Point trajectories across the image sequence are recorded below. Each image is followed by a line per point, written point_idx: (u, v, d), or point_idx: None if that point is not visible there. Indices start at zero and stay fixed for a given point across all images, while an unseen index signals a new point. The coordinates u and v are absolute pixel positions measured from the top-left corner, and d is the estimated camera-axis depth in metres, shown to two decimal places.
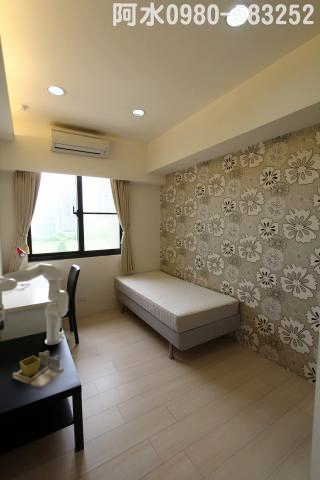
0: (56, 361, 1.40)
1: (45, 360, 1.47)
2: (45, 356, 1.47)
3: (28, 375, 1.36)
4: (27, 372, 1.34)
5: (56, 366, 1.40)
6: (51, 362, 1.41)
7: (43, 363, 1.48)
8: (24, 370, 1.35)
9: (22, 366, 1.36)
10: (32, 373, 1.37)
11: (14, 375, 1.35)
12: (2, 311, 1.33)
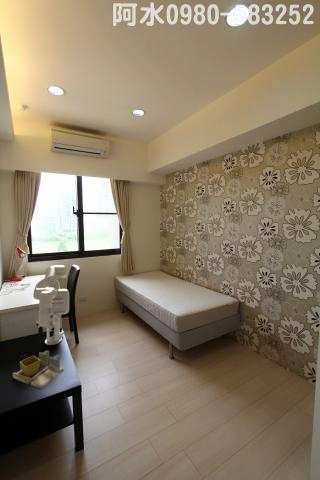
0: (56, 361, 1.40)
1: (45, 360, 1.47)
2: (45, 356, 1.47)
3: (28, 375, 1.36)
4: (27, 372, 1.34)
5: (56, 366, 1.40)
6: (51, 362, 1.41)
7: (43, 363, 1.48)
8: (24, 370, 1.35)
9: (22, 366, 1.36)
10: (32, 373, 1.37)
11: (14, 375, 1.35)
12: (53, 319, 1.45)
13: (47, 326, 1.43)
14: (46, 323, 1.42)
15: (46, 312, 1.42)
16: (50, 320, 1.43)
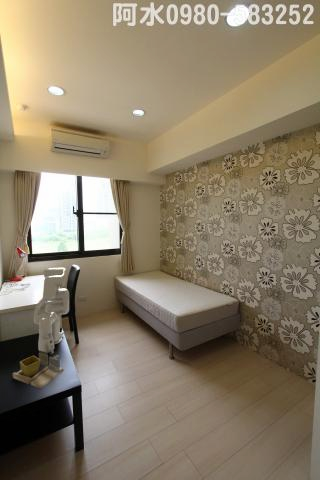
0: (56, 361, 1.40)
1: (45, 360, 1.47)
2: (45, 356, 1.47)
3: (28, 375, 1.36)
4: (27, 372, 1.34)
5: (56, 366, 1.40)
6: (51, 362, 1.41)
7: (43, 363, 1.48)
8: (24, 370, 1.35)
9: (22, 366, 1.36)
10: (32, 373, 1.37)
11: (14, 375, 1.35)
12: (52, 343, 1.49)
13: (47, 351, 1.47)
14: (46, 348, 1.47)
15: (46, 338, 1.46)
16: (50, 345, 1.47)
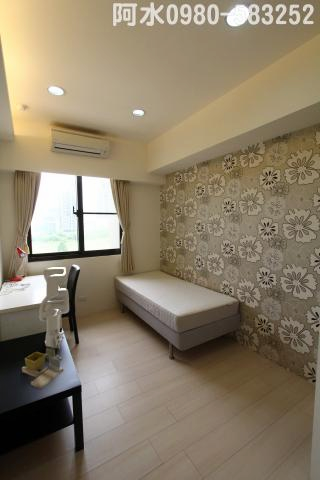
0: (56, 361, 1.40)
1: (52, 355, 1.53)
2: (52, 351, 1.53)
3: (35, 370, 1.40)
4: (35, 367, 1.39)
5: (56, 366, 1.40)
6: (51, 362, 1.41)
7: None
8: (31, 365, 1.39)
9: (28, 362, 1.40)
10: (38, 368, 1.43)
11: (23, 369, 1.41)
12: (59, 339, 1.55)
13: (54, 346, 1.53)
14: (53, 343, 1.53)
15: (53, 333, 1.52)
16: (57, 341, 1.53)
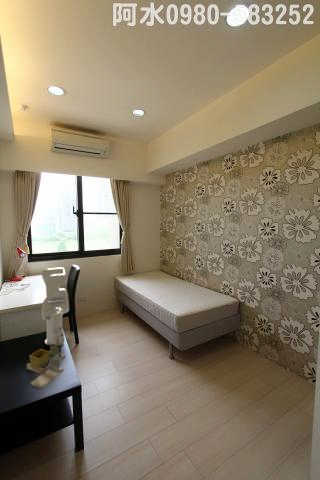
0: (56, 361, 1.40)
1: (56, 352, 1.56)
2: (56, 349, 1.56)
3: (40, 366, 1.44)
4: (39, 363, 1.43)
5: (56, 366, 1.40)
6: (51, 362, 1.41)
7: (54, 355, 1.57)
8: (36, 362, 1.43)
9: (33, 359, 1.43)
10: (43, 364, 1.46)
11: (28, 366, 1.44)
12: (63, 337, 1.58)
13: (58, 344, 1.56)
14: (57, 341, 1.56)
15: (57, 331, 1.55)
16: (60, 338, 1.56)
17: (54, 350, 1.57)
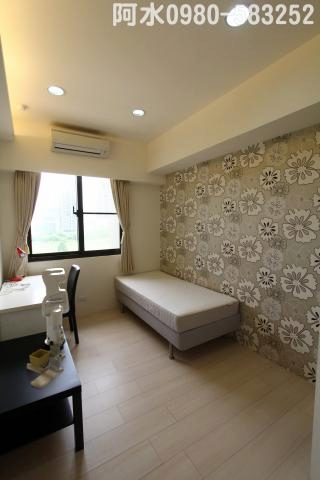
0: (56, 361, 1.40)
1: (56, 352, 1.56)
2: (56, 349, 1.56)
3: (40, 366, 1.44)
4: (39, 363, 1.43)
5: (56, 366, 1.40)
6: (51, 362, 1.41)
7: (54, 355, 1.57)
8: (36, 362, 1.43)
9: (33, 359, 1.43)
10: (43, 364, 1.46)
11: (28, 366, 1.44)
12: (62, 334, 1.59)
13: (58, 341, 1.57)
14: (57, 338, 1.56)
15: (57, 329, 1.56)
16: (60, 336, 1.57)
17: (54, 350, 1.57)
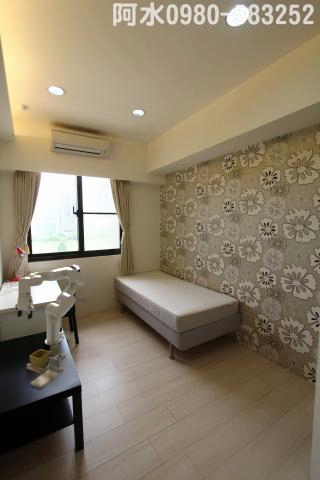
0: (56, 361, 1.40)
1: (56, 352, 1.56)
2: (56, 349, 1.56)
3: (40, 366, 1.44)
4: (39, 363, 1.43)
5: (56, 366, 1.40)
6: (51, 362, 1.41)
7: (54, 355, 1.57)
8: (36, 362, 1.43)
9: (33, 359, 1.43)
10: (43, 364, 1.46)
11: (28, 366, 1.44)
12: (31, 302, 1.57)
13: (26, 309, 1.54)
14: (25, 306, 1.54)
15: (25, 296, 1.54)
16: (28, 304, 1.55)
17: (54, 350, 1.57)
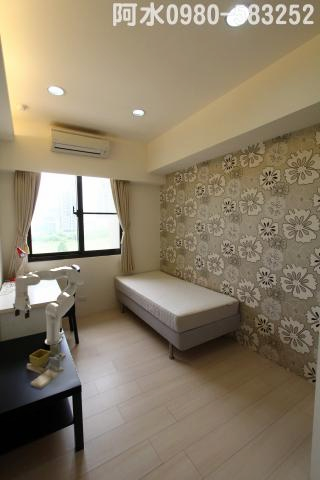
0: (56, 361, 1.40)
1: (56, 352, 1.56)
2: (56, 349, 1.56)
3: (40, 366, 1.44)
4: (39, 363, 1.43)
5: (56, 366, 1.40)
6: (51, 362, 1.41)
7: (54, 355, 1.57)
8: (36, 362, 1.43)
9: (33, 359, 1.43)
10: (43, 364, 1.46)
11: (28, 366, 1.44)
12: (28, 302, 1.57)
13: (22, 308, 1.55)
14: (21, 306, 1.54)
15: (21, 295, 1.54)
16: (25, 303, 1.55)
17: (54, 350, 1.57)
